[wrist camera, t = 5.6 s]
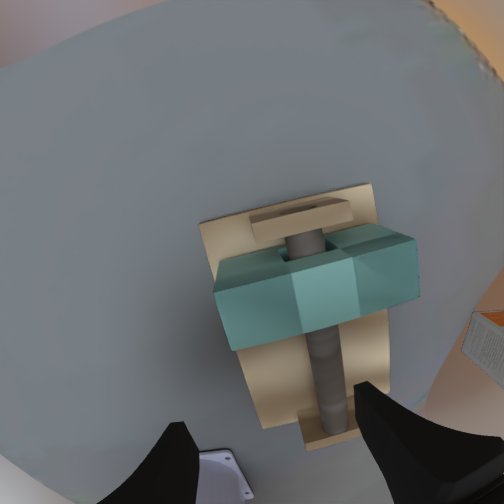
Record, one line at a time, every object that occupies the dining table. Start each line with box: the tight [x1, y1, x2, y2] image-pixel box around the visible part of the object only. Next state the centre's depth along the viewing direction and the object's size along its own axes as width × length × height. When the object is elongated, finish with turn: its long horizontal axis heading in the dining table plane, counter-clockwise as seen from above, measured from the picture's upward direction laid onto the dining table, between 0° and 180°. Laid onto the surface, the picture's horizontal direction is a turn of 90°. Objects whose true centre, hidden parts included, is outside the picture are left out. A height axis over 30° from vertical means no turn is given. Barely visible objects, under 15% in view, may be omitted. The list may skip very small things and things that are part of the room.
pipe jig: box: [199, 184, 390, 452], centre depth 19 cm, size 17×11×5 cm, turn 14°
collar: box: [213, 223, 420, 351], centre depth 16 cm, size 3×10×5 cm, turn 104°
